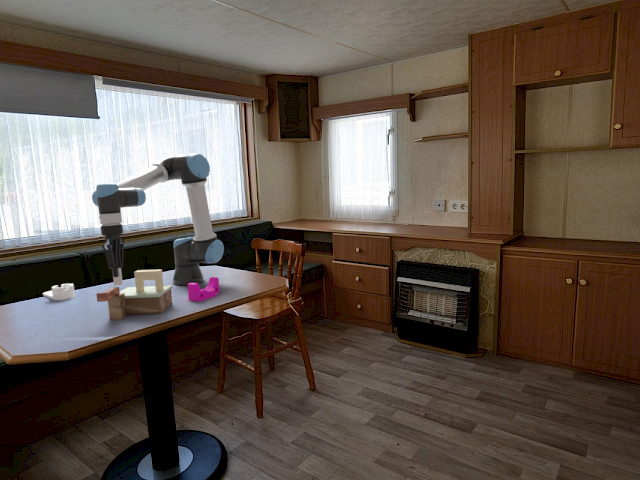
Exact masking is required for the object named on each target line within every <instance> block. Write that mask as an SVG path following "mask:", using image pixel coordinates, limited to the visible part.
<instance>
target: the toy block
mask: <svg viewBox="0 0 640 480" xmlns="http://www.w3.org/2000/svg"><path fill="white" fill-rule="evenodd" d="M219 279H220V278H219V277H215V276H211V277H209V280H208V283H207V285H206V286H205V288H203V289H202V288H201V287H200V285H199V283H189V284H188V285H187V292H188V293H187V294H188V300H189V301H191V302H192V301H194V302H202V301H204V300H208V299H211V298H214V297H216V296H217V294H219V293H220V280H219Z"/></svg>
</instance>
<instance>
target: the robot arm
mask: <svg viewBox="0 0 640 480" xmlns="http://www.w3.org/2000/svg"><path fill="white" fill-rule="evenodd" d="M210 171H211V167H210V163H209V161H208V159H207V158H206V157H205V156H204V155H203V154H200V153H194V152H192V153H185V154H174V155H171V156H168V157H165V158H163V159H161V160H160V161H156V162H155V163H152V164H151V166H150V167H149V168H148V169H145V170H143V171H141V172H139V173H137V174H135V175H134V174H133V176H129V177H128V178H126V179H124V180H121V181H119V182H117V183H98V184H97V185H96V189H95V191H93V192H92V196H91V200H92V203H93V204H94V205H95V206H96V207H98V214H99V215H98V219H99V223H100V225H101V226H100V233H101V236H102V237H103V236H104V237H105V244H102V246H101V247H102V249H103V252H104V255H105V259H106V262H107V263H106V264H107V267H108V269H109V270H112V271H111V272H112V279H113V285H114V286H121V285H123V284H124V282H123V274H122V273H123V272H122V268H124V263H125V262H124V255H125V254H124V249H125V248H124V247H125V246H124V245H125V240H124V239H121V235H122V234H124V227H123V224H122V223H123V218H122V211H121V209H123V208H132V207H135V208H136V207H141V206H143V205H144V204H145V203H146V199H147V198H146V197H147V196H146V193H145V190H147V189H150V188H151V187H154V186H155V185H158V184H160V183H163V184H164V183H166V182H169V181H174V180H181V184H182V186H184V187H185V188H186V193H187V199H188V203H189V210H190V213H191V214H190V215H191V219H192V223H193V224H192V225H193V231H194V236H189V237H184V238H183V237H182V238H177V239H175V240H174V241H173V255H174V264H175V265H174V266H175V269H174V274H173V276H172V277H173V278H172V283H173V284H174V285H178V286H179V285H181V286H183V285H184V286H185V285H187V286H188V284H189V283H198V284H199V283H201V282H203V281H204V274H203V273H202V272H203V271H202V270H201V268H200V263H201V264H217V263H218V262H219V261H220V260H222V258H223V255H224V251H225V246H224V243H223V242H222V241H221V240H220V239H218V236H217V234H216V233H215V232H214V231H213V227H212V225H213V224H212V221H211V214H210V208H209V204H208V197H207V191H206V186H205V184H206V182H207V181H208V180H207V177H209V176H210Z"/></svg>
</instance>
